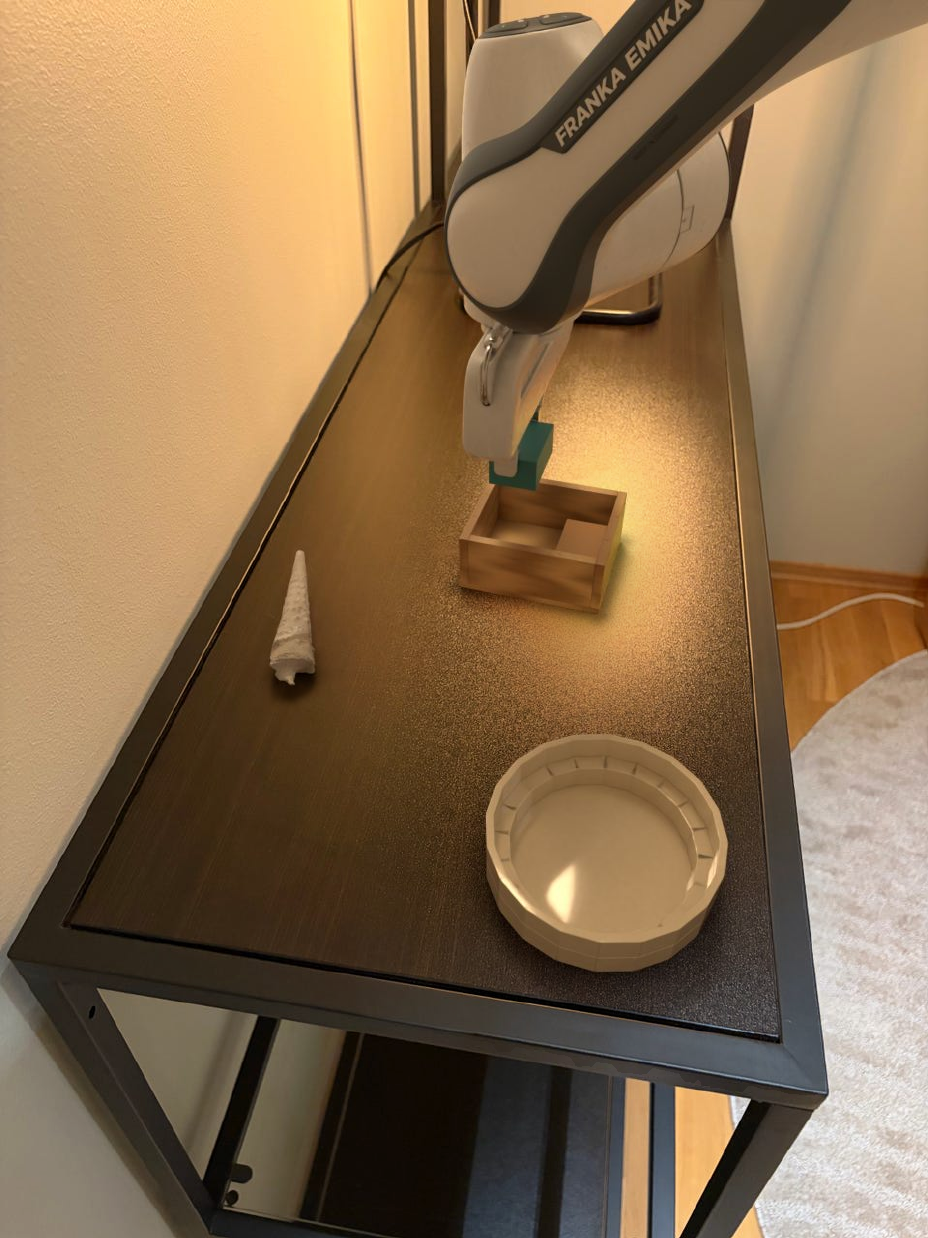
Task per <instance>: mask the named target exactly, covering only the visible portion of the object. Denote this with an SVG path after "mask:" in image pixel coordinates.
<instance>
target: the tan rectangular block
mask: <svg viewBox="0 0 928 1238" xmlns="http://www.w3.org/2000/svg"><path fill="white" fill-rule="evenodd" d="M606 529H607V526H605V525H599V524H594V523H588V522H582V521H577V520H571V519H567V521H566V523H565V526H564V529H563V531H562V534H561V536H560V539H559V542H558V544H557V547H556V551H561V552H567V553H572V554H577V555H583V556H588V557H594V558H597V557H598V554H599V551H600V548H601V545H602V542H603V539H604V535H605V532H606Z"/></svg>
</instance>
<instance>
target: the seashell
mask: <svg viewBox="0 0 928 1238" xmlns="http://www.w3.org/2000/svg"><path fill="white" fill-rule="evenodd" d="M308 586H309V585H308V574H307V564H306V557H305V552H304V551H303V550H300V549H299V550H297V551H296V552H295V556H294V561H293V564H292V568H291V575H290V579H289V583H288V585H287V587H288V589H287V590H286V592H287V593H286V597H285V598H284V605H283V607H282V614H281V619H280V621H279V624H278V626H277V629H276V633H275V637H274V640H273V642H272V645H271V647H270V654H269V655H270V656H269V667H270V668H272V669H273V670H275V673H274V676H275V677H276V679H278V681H282V682H283V681H284V682H286V683H287V684H288V685H289V686H295V685H296V683H295V682H294V681H295V677H296V674H297V673H303V674H304V673H307V674H315V672H316V668H315V665H316V662H315V652H316V649H315V648H314V646H313V638H312V636H313V634H312V623H311V611H310V607H311V604H310V602H309V587H308Z"/></svg>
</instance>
